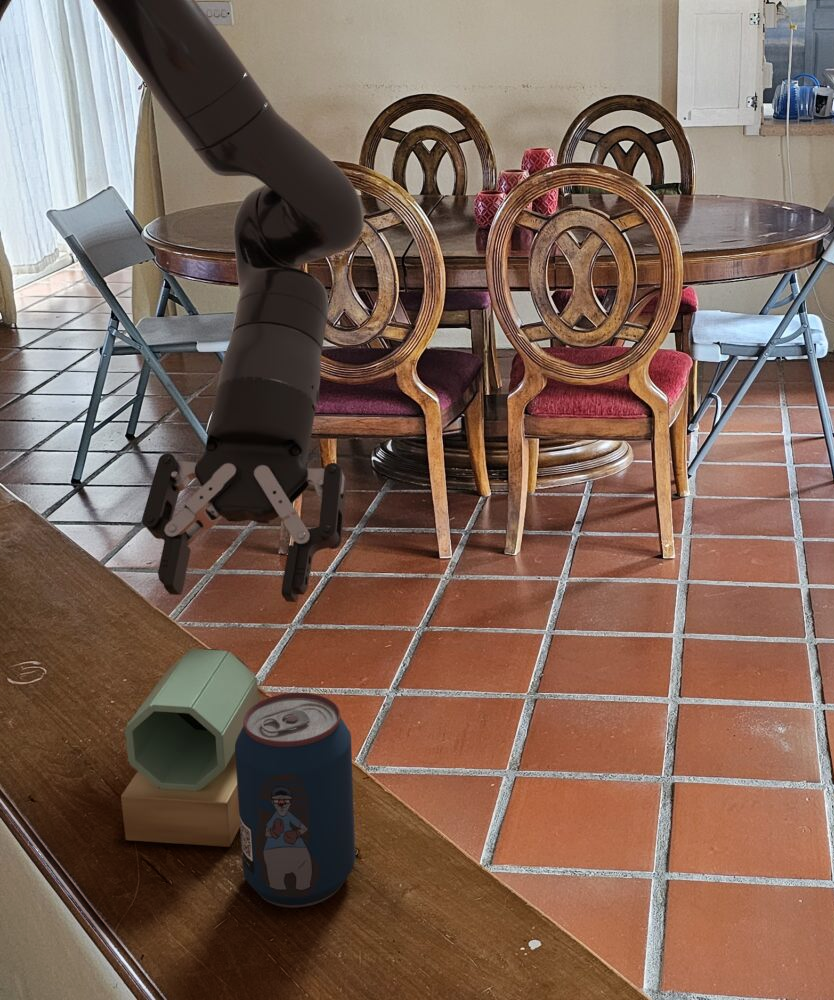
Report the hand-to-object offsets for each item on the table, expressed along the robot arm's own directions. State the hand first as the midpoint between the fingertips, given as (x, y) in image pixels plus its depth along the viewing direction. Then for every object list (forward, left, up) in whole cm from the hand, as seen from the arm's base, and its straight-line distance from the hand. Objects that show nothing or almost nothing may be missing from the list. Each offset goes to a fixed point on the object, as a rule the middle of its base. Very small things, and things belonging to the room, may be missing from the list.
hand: (230, 595), depth 94 cm
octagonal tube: (+6, -6, -8) cm, 12 cm away
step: (+6, -6, -12) cm, 14 cm away
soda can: (+18, -5, -12) cm, 22 cm away
